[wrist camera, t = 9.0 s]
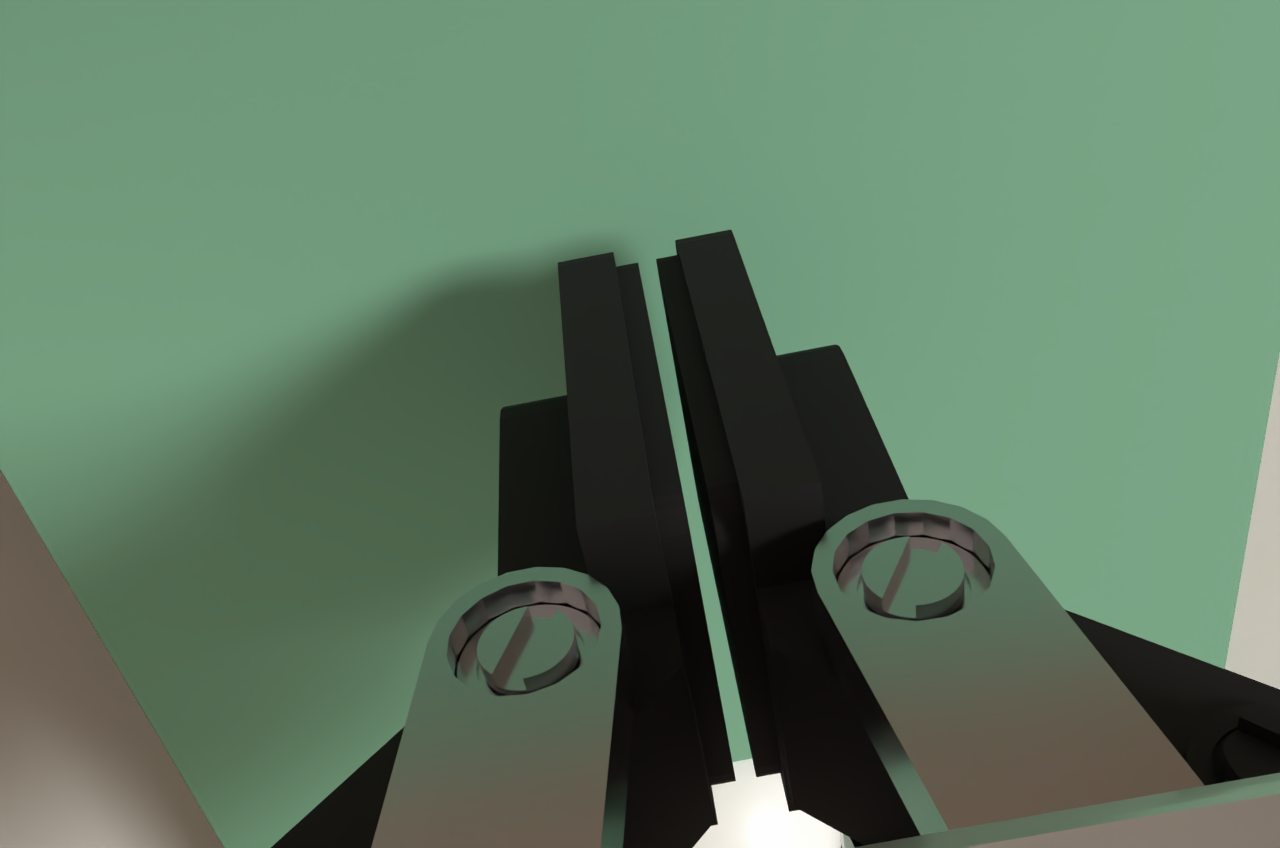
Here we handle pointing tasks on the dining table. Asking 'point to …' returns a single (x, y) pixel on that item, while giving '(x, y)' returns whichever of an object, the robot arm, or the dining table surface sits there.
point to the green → (531, 312)
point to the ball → (762, 816)
